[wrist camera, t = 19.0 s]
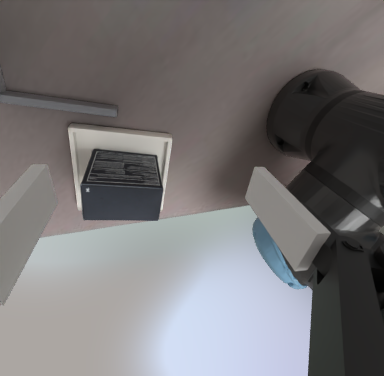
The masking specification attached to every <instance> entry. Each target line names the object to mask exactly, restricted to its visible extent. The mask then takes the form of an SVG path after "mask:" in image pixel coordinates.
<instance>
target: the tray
mask: <svg viewBox="0 0 384 376" xmlns="http://www.w3.org/2000/svg"><path fill="white" fill-rule="evenodd" d="M68 133H69V141H70V149H71V158H72V166H73V174H74V182H75V190H76V198H77V206H78V210H82V202H81V191H80V183H81V182H82V179H83V177H84V174H85V171H86V168H87V165H88V162H89V160H90V157H91V154H92V150H93V149H101V150H111V151H121V152H130V153H140V154H150V155H157V156H158V164H159V170H160V175H161V181H162V185H163V189H164V191H163V196H162V203H161V209H160V211H162V209H163V202H164V195H165V188H166V181H167V174H168V167H169V160H170V153H171V146H172V139H173V138H172V136H171V134H167V133H159V132H150V131H141V130H132V129H123V128H114V127H105V126H96V125H87V124H78V123H71V124H70V125H69V127H68Z"/></svg>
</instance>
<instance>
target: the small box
mask: <svg viewBox="0 0 384 376" xmlns="http://www.w3.org/2000/svg"><path fill="white" fill-rule="evenodd" d="M80 191H81V202H82V214H83V220H145V221H158V219H159V214H160V209H161V203H162V196H163V191H164V189H163V185H162V181H161V175H160V170H159V164H158V156H157V155H150V154H140V153H130V152H121V151H111V150H101V149H93V150H92V154H91V157H90V160H89V162H88V165H87V168H86V171H85V174H84V177H83V179H82V182H81V183H80Z"/></svg>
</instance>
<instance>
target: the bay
mask: <svg viewBox="0 0 384 376" xmlns="http://www.w3.org/2000/svg"><path fill="white" fill-rule="evenodd" d="M0 103H7V104H14V105H22V106H30V107H38V108H46V109H54V110H62V111H70V112H78V113H86V114H94V115H102V116H110V117H117V114H118V106H115V105H108V104H100V103H93V102H86V101H79V100H72V99H65V98H57V97H50V96H43V95H36V94H29V93H21V92H14V91H7V90H6V86H5V82H4V78H3V74H2V70H1V66H0Z"/></svg>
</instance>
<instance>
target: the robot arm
mask: <svg viewBox="0 0 384 376" xmlns="http://www.w3.org/2000/svg"><path fill="white" fill-rule="evenodd" d="M267 134H268V137H269V140H270V142H271V143H272V145H273V146H274V147H275V148H276V149H278V150H279V151H280V152H282V153H283V154H285V155H287V156H290V157H295V158H300V159H305V160H310V161H311V162H310V163H309V164H308V165H307V166H306V167H305V168H304V169H303V170H302V171H301V172H300V173H299V174H298V175H297V176H296V177H295V178H294V179H293V180H292V181H291V182H290V184H289V185H288V186H287V187H286V188H285V187H284V186H283V185H282V184H281V183H280V182H279V181H278V180H277V179H276V178H275V177H274V176H273V175H272V174H271V173H270V172H269V171H268V170H267V169H266V168H265V167H254V170H253V173H252V177H251V180H250V183H249V186H248V190H247V193H246V196H245V199H246V200H247V202H248V203H249V205H250V206H251V207H252V209H253V211H254V212H255V213H256V215H257V217H258V218H257V219H256V220H255V222H254V224H253V236H254V239H255V243H256V246H257V248H258V250H259V252H260V254H261V255H262V257H263V259H264V260H265V262H266V263H267V264H268V266H269V267H270V268H271V270H272V271H273V272H274V273H275V274H276V275H277V276H278V277H279V278H280V279H281V280H282V281H283V282H284V283H288V285H289V286H290V287H292V288H294V289H301V288H302V289H303V288H306V287H307V286H309V287H310V288H311V289H312V290H313V293H312V311H311V330H310V348H309V366H308V376H384V235H383V234H382V233H381V232H379V229H380V228H382V227H383V226H384V95H381V94H376V93H371V92H366V91H362V90H360V89H359V88H358V87H356V86H355V85H354V84H353V83H351V82H350V81H349V80H348V79H347V78H345V77H344V76H343V75H341V74H339V73H337V72H334V71H328V70H321V69H317V70H311V71H308V72H305V73H303V74H301V75H299V76H297V77H296V78H294V79H293V80H292V81H290V82H289V83H288V84H287V85H286V86H285V87H284V88H283V89H282V90H281V92H280V93H279V94H278V96H277V97H276V99H275V100H274V102H273V104H272V106H271V109H270V112H269V115H268V119H267ZM57 204H58V200H57V197H56V193H55V190H54V186H53V182H52V179H51V175H50V172H49V168H48V165H47V164H32V165H31V166H30V167H29V168H28V169H27V170H26V171H25V172H24V173H23V175H22V176H21V177H20V178H19V179H18V180H17V181H16V182H15V183H14V184H13V185H12V187H11V188H10V189H9V190H8V191H7V192H6V193H5V194H4V195H3V196H2V197H1V199H0V306H2V305H4V304H5V302H6V300H7V298H8V296H9V295H10V293H11V291H12V289H13V287H14V285H15V283H16V281H17V279H18V277H19V276H20V274H21V272H22V270H23V268H24V266H25V264H26V262H27V260H28V259H29V257H30V255H31V253H32V251H33V249H34V247H35V245H36V244H37V242H38V240H39V238H40V236H41V234H42V232H43V230H44V228H45V227H46V225H47V223H48V221H49V219H50V217H51V215H52V213H53V211H54V209H55V208H56V206H57Z"/></svg>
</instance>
